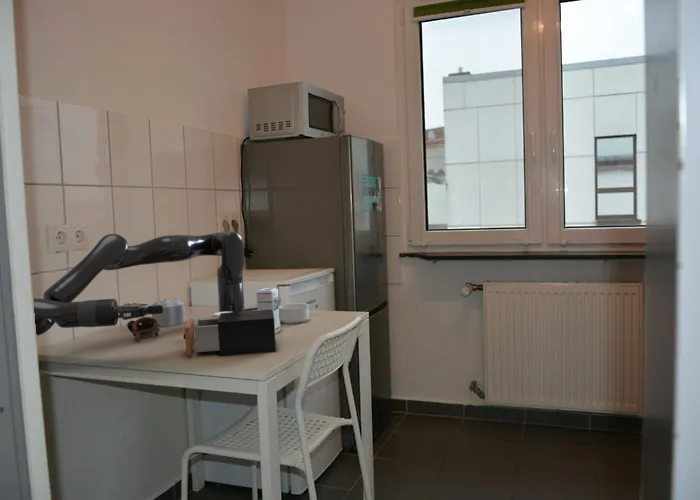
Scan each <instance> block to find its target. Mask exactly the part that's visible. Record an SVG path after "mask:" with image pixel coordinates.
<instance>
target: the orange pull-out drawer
mask: <svg viewBox="0 0 700 500" xmlns="http://www.w3.org/2000/svg"><path fill="white" fill-rule="evenodd" d="M218 320H219V318H213V317H212V318H202V319H197V326H195V320H194V318H189V319H188V321H187V323H186V324H185V327H184V333H183V336H182V337H183V340H184V341H185V353H186V354H185V355H186V356H191V355H192V353H193V350H194V347H195V352H196V353H203V352H216V351H217V352H218V351H220V350H219V333H218Z"/></svg>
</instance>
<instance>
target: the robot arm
mask: <svg viewBox="0 0 700 500" xmlns="http://www.w3.org/2000/svg"><path fill="white" fill-rule="evenodd" d="M203 256H216V257H221V264H220V265H219V267H217V268H216V282H217V298H218V312H224V311H230V312H244V311H258V309H257V307H256V306H255V307H249V308H245V294H244V293H245V292H244V277H243V276H244V274H243V269H244V266H245V244H244V239H243V237H242V236H241V234H240V233H238V232H236V231H219V232H214V233H210V234H203V235H202V234H201V235H192V234H169V235H161V236H157V237H154V238H152V239H151V238H150V239H148V240H146V241H144V242H141V243H138V244H135V245H129V242H128V241H127V240H126V238H125V237H124V236H122V235H120V234H119V233H118V234H117V233H108V234H106V235H104V236H102V237H101V238H100V239H99V240H98V242H97V243H96V244H95V246H94V247H93V248H92V249H91V250H90V252H88V254H86V256H85V257H84V258H82V260H80V261H79V262H78V263H77V264H76V265H75V266H73V267H72V268H70V270H69V271H67V272H66V273H65V274H64V275H63V276H61V277H60V278H59V279H58V280H56V281H55V282H54V283H53V284H52V285H50V286H49V287H48V288H46V289H45V290H44V292H43V294H42V298H41V297H32V298H33V299H34V313H35V324H36V334H37V336H36V337H38V336H41V335H43V334H45V333H47V332H48V331H49V330H50V329H52V327H53V326H54V325H55V323H56V325H57V326H58V327H59V328H62V329H71V328H101V327H115V326H116V325H117V324H118V322H119V319H122V321H123V320H125V321H127V320H132V319H139V318H142V317H148V316H149V315H152V314H161V313H162V312H163V306H162V305H154V306H152V305H149V304H147V303H135V302H133V303H130V302H129V303H128V302H127V303H123V304H121V305H120V306H119V305H118V301H117V300H116V299H115V298H102V299H87V300H83V301H82V300H81V301H74V300H75V299H77V298H78V297H79V296H80V295H81V294H82V293H83V292H84V291H85V290H86V289H87V288H88V286H90V284H91V282H92V281H94V279H95V278H96V277H97V276H98V275H99V274H100V273H101V272H102V271H116V270H122V269H127V268H131V267H136V266H137V267H138V266H145V265H154V264H162V263H163V264H165V263H176V262H183V261H188V260H192V259H195V258H198V257H203Z"/></svg>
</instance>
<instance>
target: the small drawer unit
mask: <svg viewBox="0 0 700 500" xmlns="http://www.w3.org/2000/svg"><path fill="white" fill-rule="evenodd" d="M218 333H219V350H218V351H219V357H225V356H227V357H228V356H237V355H238V356H239V355H250V354H260V353H274V352H276V351H277V348H276V334H275V327H274V316H273V311H272V310H258V309H257V310H250V311H244V312H230V313H220V317H219V320H218Z"/></svg>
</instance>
